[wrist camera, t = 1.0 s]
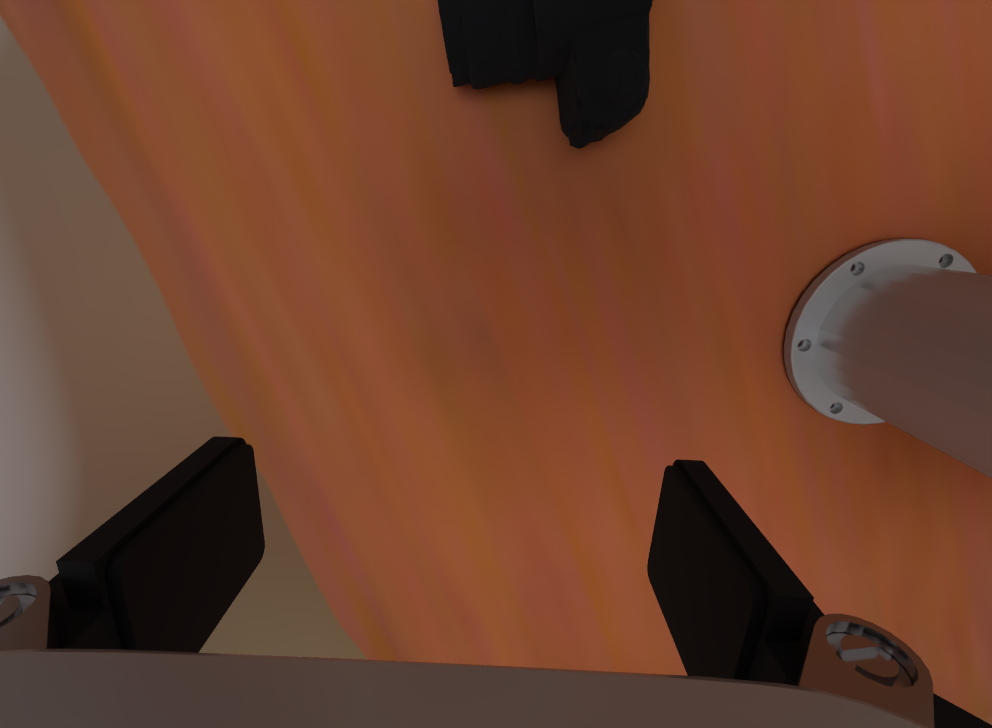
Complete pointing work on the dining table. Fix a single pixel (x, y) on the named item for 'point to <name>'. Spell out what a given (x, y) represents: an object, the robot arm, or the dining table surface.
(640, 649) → the dining table surface
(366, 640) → the dining table surface
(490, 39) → the film camera
